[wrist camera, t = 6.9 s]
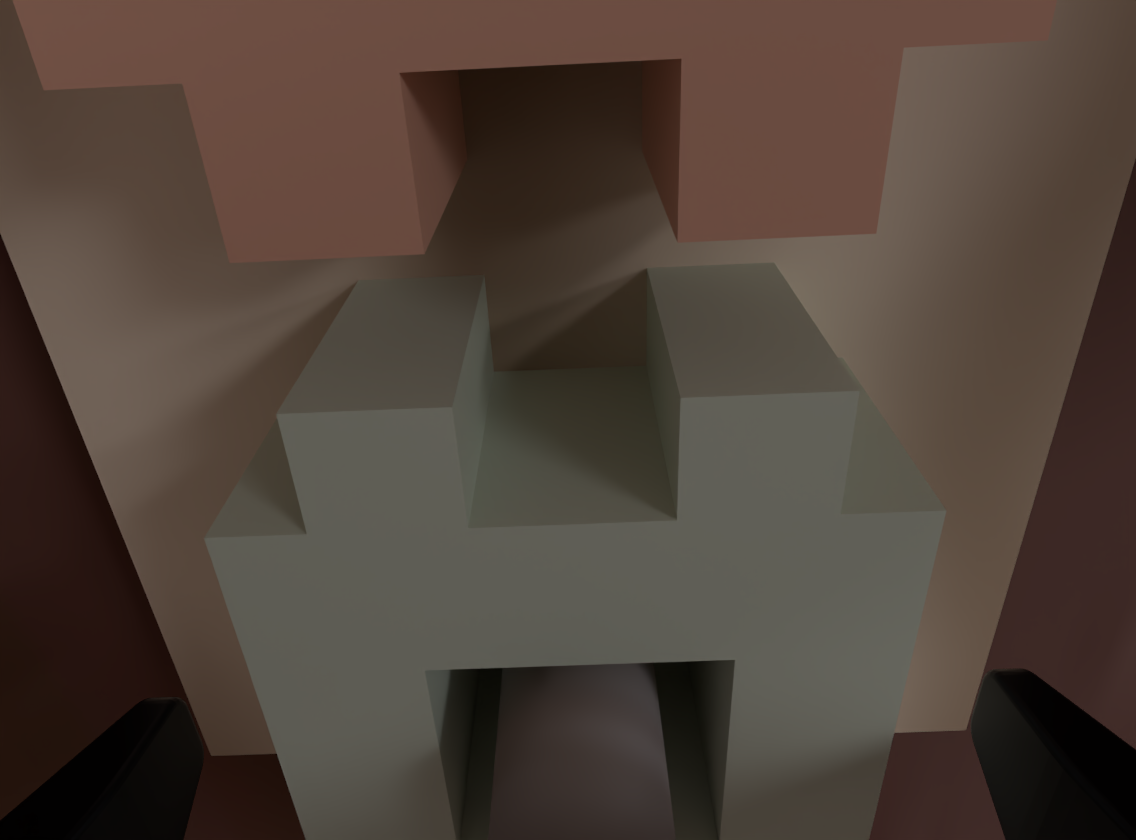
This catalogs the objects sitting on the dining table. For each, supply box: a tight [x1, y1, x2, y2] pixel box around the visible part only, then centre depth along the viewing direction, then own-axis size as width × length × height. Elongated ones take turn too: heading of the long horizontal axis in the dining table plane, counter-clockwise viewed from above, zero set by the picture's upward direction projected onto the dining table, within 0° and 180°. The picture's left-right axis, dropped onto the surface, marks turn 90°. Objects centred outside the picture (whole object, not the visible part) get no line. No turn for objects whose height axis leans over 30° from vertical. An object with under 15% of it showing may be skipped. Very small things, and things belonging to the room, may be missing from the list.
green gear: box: [204, 263, 946, 840], centre depth 10 cm, size 6×9×3 cm
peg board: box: [0, 0, 1136, 840], centre depth 8 cm, size 12×17×6 cm
